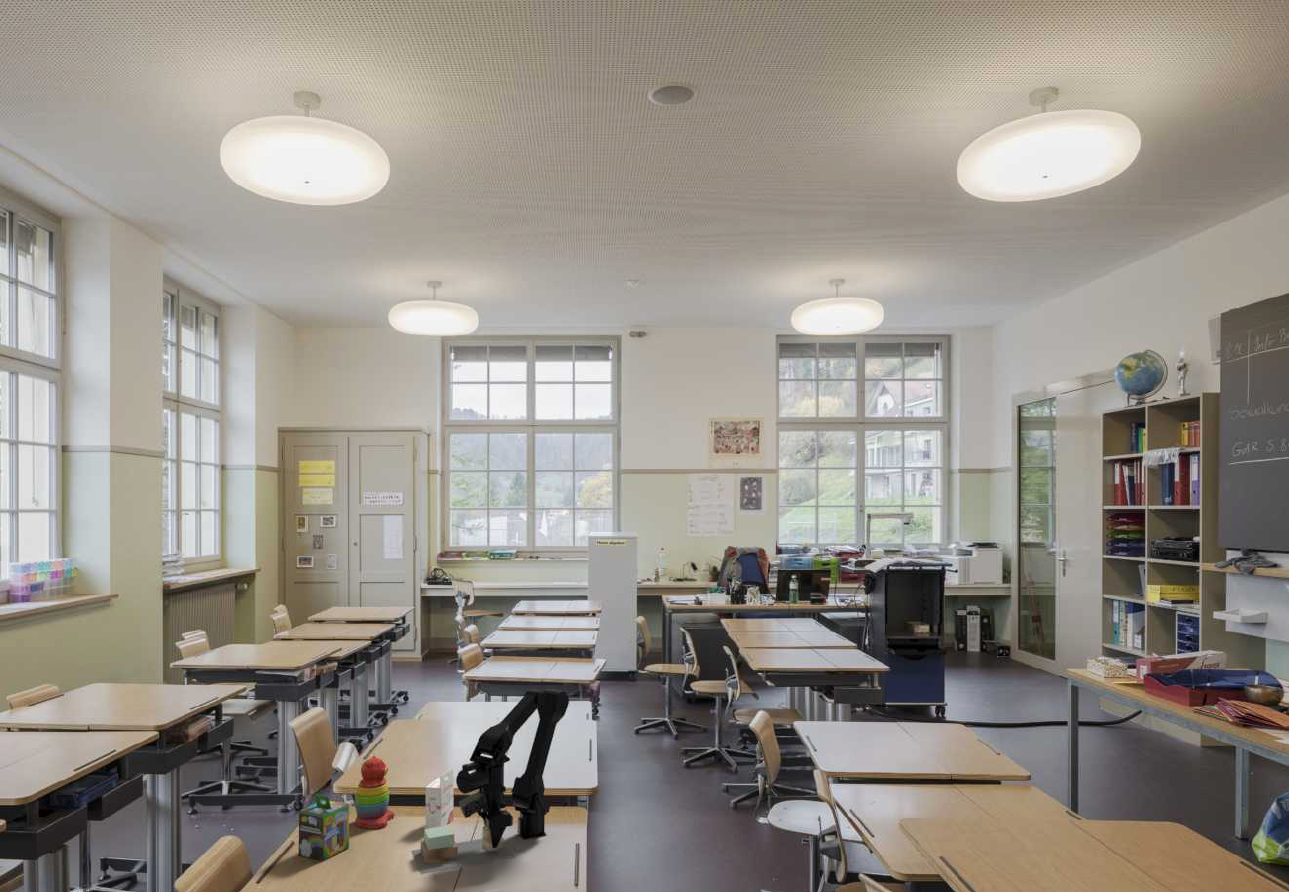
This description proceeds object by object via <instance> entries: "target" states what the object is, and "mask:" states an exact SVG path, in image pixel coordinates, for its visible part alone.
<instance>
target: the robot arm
mask: <svg viewBox="0 0 1289 892" xmlns="http://www.w3.org/2000/svg"><path fill="white" fill-rule="evenodd" d="M569 703H570V698H569V696H568V694H567V693H566V691H564V690H563V691H562V690H557V689H550V688H545V689H543V691H541V690H535V689H529V690H526V691H525V694H524V695H523V697H522V698H521V699H520V700H519V701H518V702H517V704H516V705H515V706H514V707H513V708H512V709H511V711H509V712H508V713H507V714H506V716H505V717H504V718H503V719H502V720H501V721H500V722H499V723H497V724H495V725H493V726H490V727H489V728H487V729H486V730H485V731H483V733H482V734H481V735H480V736H479V737H478V741H477V743H476V745H475V748H474V749H473V752H472V754H471V756H470V758H469V761H470V763H464V764H463V765H462V767H461V770H459V771H458V773H457V776H456V779H455V782H456V787H457V789H458V791H459V792H460V793H462V794H463V795H464V794H465V795H466V794H469V793H471V792H474V793H471V794H470V795H468V796H466V797H464V798H462V799H461V800H460V801H458V805H459V808H460V810H461V813H462V815H463V817H464V818H465V819H468V818H471V816H473V815H475V814H476V813H477V815H478V816H479V817H481V819H482V820H483V827H484V826H485V825H486V827H487V828H488V829H490V835H491V842H492V847H493V848H497V846H498V844H499V842H500V839H501V837H503V834H504V833H505V830H506V829H507V827H512V826H513V825H514V824H513V823H514V817H513V816H512V814H511V813H510V812H509V811H508V810H507V809H506V802H505V801H504V800H505V799H504V798H505V796H504V795H505V793H506V791H507V787H506V786H505V785H504V784H505V763H508V762H510V760H511V758H510V757H508V755H506V754H507V753H508V751H509V750H510V747H511V746H512V745H513V742H514V741H513V740H514V736H515V735H516V733H517V732H519V730H520V729H521V728H522V727H523V726H524V724H525V723H526V722H527V721H528V720H529V719H530V717H531V716H532V715H533V714H534V713H535V712H536V711H537V713H538V717H539V721H538V724H537V728H536V732H535V735H534V738H533V743H532V746H531V749H530V753H529V757H528V760H527V764H526V767H525V770H524V773H522V775H521V776H520V777H518V776H516V777H515V779H514V783H513V786H512V789H511V791H510V793H511V797H510V798H511V802H512V803H513V804H512V805H513V808H514V810H515V812H519V816H518V817H517V833H518V835H519V836H520V837H521V838H522V840H530V839H535V838H536V839H537V838H542V837H546V836H547V833H546V832H545V821H546V820H545V816H547V814H548V813H549V812H550V808H551V803H550V802H549V801H548V800H547V798H546V797H545V796H544V795H545V791H546V790H545V783H544V778H543V776H544V771H545V767H546V764H547V761H548V757H549V753H550V749H551V746H552V742H553V738H554V735H555V731H556V729H557V728H556V727H557V724H558V723H559V722H560V721H561V720H562V718H563V717H564V716H565V715H566V713H567V709H568V706H569ZM483 755H484V756H483ZM488 756H489V757H488ZM477 790H478V791H477ZM475 791H477V792H475Z"/></svg>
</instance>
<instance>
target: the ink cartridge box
mask: <svg viewBox="0 0 1289 892" xmlns="http://www.w3.org/2000/svg"><path fill="white" fill-rule="evenodd" d="M447 776H448V777H447ZM454 783H455V782H454V770H453V768H450V769H449V770H447V771H446V772H444V773H443V774H442V775H440V777H437V778H436V779H435V780H433V781H432V782H430V783H429V784H428V785H427V786H425V829H428V828H434V827H441V826H447V825H449V824H450V823H451V822H452V821H453V820H454V786H455V784H454Z"/></svg>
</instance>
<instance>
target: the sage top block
mask: <svg viewBox="0 0 1289 892" xmlns="http://www.w3.org/2000/svg"><path fill="white" fill-rule="evenodd" d="M423 831H424V833H423V836H424V837H423V840H424V842H425V844H426V846H427V849H428V851H429V850H434V849H440V848H446V847H452V846H454V841H455V833H454V830H453V829H452V827H451V825H450V824H447V825H445V826H441V827H434V828H424V829H423Z"/></svg>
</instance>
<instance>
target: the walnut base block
mask: <svg viewBox="0 0 1289 892" xmlns="http://www.w3.org/2000/svg"><path fill="white" fill-rule="evenodd" d="M456 843H457V842H456V841H455V840H454V846H452V847H446V848H440V849H434V850H429V851H428V849H427V846H426V844H425V842H424V839H421V840H420V849H421V855H422V857H423V860H424V862H425V864H431V863H437V862H442V861H448V860H454V859H458V846H457V844H456Z"/></svg>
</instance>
